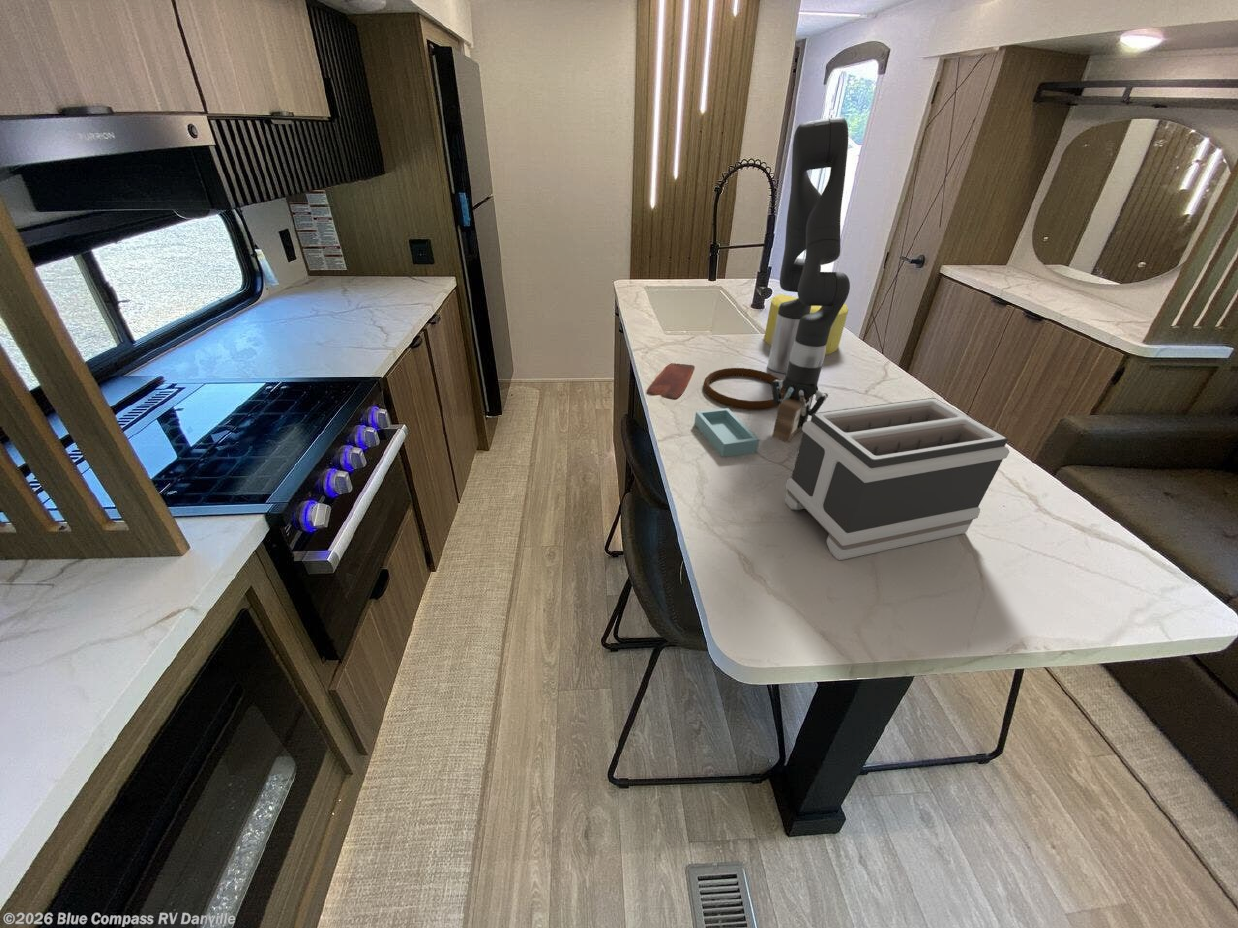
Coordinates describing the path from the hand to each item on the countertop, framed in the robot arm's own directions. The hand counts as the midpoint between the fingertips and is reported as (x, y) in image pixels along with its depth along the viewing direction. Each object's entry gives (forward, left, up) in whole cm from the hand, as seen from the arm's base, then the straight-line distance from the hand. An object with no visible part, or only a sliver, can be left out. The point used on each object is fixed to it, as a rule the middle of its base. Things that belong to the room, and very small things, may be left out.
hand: (790, 423), depth 130 cm
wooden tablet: (+18, -36, -3) cm, 40 cm away
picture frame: (0, 0, -2) cm, 2 cm away
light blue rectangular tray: (+18, 0, -2) cm, 18 cm away
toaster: (+1, +35, -2) cm, 36 cm away
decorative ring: (-2, -22, -3) cm, 22 cm away
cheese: (-40, -58, -2) cm, 70 cm away
